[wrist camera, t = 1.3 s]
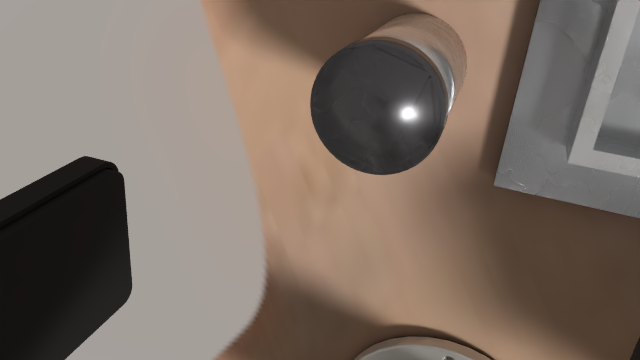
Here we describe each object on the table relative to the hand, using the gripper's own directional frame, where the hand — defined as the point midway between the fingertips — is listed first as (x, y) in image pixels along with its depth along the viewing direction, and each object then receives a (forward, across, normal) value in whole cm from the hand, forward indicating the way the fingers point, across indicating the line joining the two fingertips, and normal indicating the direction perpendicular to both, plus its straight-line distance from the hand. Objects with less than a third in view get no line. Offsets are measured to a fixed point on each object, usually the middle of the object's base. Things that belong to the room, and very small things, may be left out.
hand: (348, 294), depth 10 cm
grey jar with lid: (+20, +3, +1) cm, 20 cm away
